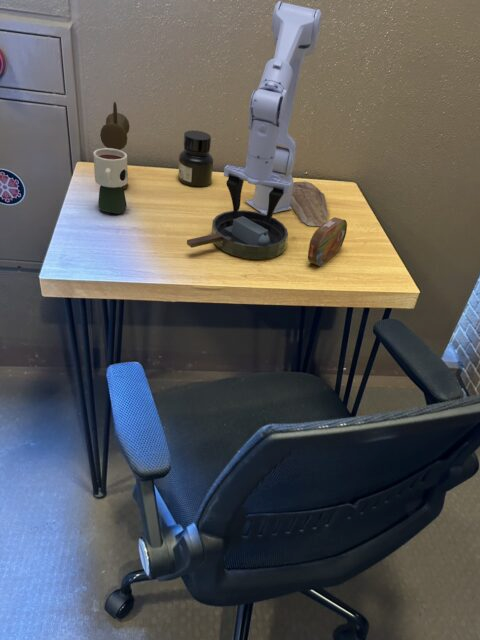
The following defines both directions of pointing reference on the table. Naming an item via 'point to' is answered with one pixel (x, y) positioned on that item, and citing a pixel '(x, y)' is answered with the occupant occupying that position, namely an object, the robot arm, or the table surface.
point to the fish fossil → (309, 203)
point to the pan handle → (204, 240)
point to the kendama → (115, 131)
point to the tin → (327, 241)
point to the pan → (242, 249)
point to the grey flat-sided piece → (248, 232)
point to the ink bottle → (196, 159)
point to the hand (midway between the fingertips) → (252, 215)
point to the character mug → (111, 179)
